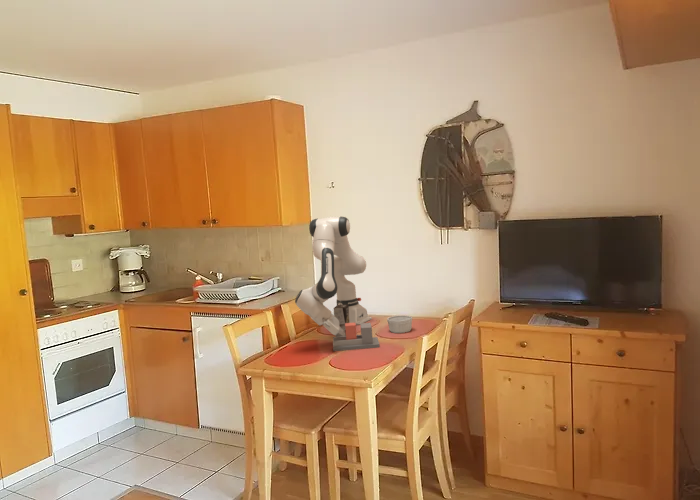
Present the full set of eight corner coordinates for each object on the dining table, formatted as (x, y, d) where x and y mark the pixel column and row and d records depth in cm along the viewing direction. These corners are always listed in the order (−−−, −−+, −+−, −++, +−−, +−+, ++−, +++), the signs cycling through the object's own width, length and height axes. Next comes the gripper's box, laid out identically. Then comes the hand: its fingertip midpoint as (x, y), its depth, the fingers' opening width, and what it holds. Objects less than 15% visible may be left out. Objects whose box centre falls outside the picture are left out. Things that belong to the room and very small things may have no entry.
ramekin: (409, 334, 284) (409, 320, 283) (385, 333, 288) (384, 320, 288) (415, 327, 296) (414, 315, 296) (391, 327, 301) (390, 315, 300)
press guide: (333, 351, 262) (331, 331, 261) (333, 343, 276) (332, 324, 275) (379, 347, 263) (378, 327, 262) (377, 340, 277) (376, 321, 276)
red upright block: (346, 344, 266) (345, 326, 265) (346, 341, 272) (345, 323, 271) (357, 343, 266) (355, 325, 265) (356, 340, 272) (355, 322, 271)
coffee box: (347, 338, 284) (345, 307, 283) (335, 338, 286) (332, 308, 284) (351, 334, 293) (348, 304, 292) (339, 334, 295) (336, 304, 293)
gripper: (326, 316, 257) (349, 335, 258) (327, 307, 278) (348, 325, 279) (318, 326, 258) (340, 345, 259) (319, 316, 278) (340, 334, 279)
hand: (344, 334), depth 269 cm, fingers closed, pressing on red upright block
